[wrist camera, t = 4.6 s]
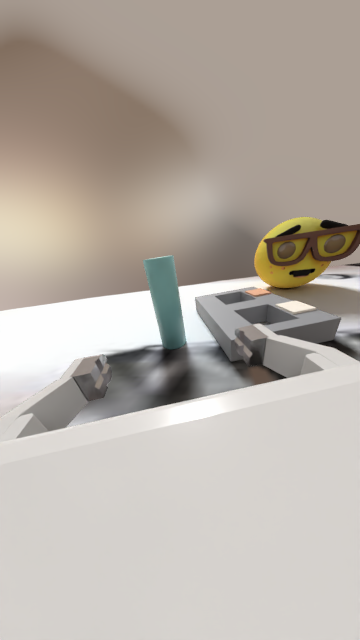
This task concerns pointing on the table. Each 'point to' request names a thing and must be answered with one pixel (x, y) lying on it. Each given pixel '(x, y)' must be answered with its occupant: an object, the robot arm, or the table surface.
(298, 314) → the socket board
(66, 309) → the table surface
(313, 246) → the emoji
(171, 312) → the teal rounded cylinder
